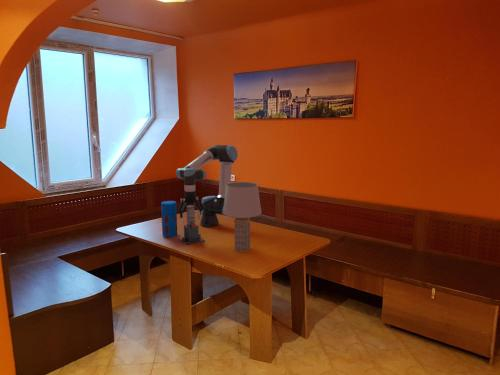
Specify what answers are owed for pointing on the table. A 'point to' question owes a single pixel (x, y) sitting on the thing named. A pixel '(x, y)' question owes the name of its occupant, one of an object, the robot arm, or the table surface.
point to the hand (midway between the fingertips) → (190, 221)
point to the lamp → (242, 210)
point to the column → (190, 215)
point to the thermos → (169, 219)
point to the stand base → (191, 235)
